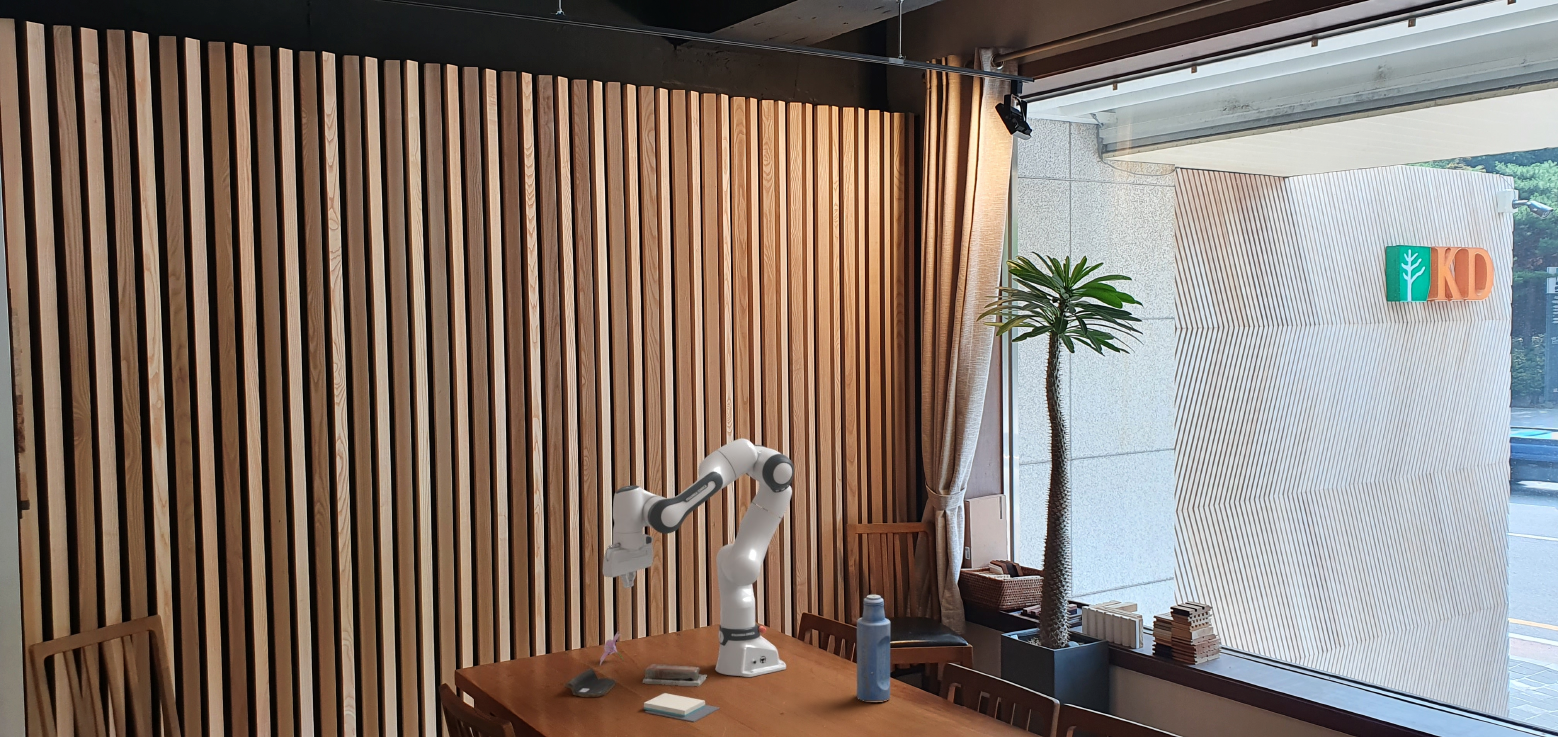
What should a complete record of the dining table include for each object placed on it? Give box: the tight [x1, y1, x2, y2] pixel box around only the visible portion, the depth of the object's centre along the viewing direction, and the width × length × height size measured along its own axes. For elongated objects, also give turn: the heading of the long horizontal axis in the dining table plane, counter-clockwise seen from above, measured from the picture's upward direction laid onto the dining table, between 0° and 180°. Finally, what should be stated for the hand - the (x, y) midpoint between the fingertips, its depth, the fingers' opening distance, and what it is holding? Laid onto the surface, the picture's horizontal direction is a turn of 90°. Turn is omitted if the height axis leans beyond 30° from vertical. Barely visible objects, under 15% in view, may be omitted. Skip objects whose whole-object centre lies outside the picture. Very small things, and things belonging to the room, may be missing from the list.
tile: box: [643, 692, 706, 717], centre depth 309 cm, size 2×10×14 cm
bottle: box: [856, 594, 891, 701], centre depth 318 cm, size 10×10×30 cm
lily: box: [599, 631, 624, 666], centre depth 357 cm, size 12×12×10 cm
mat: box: [644, 704, 721, 723], centre depth 308 cm, size 16×13×1 cm
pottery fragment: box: [564, 668, 616, 698], centre depth 327 cm, size 15×12×4 cm
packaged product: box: [642, 663, 708, 688], centre depth 337 cm, size 18×5×10 cm
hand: (628, 586), depth 326 cm, fingers closed
